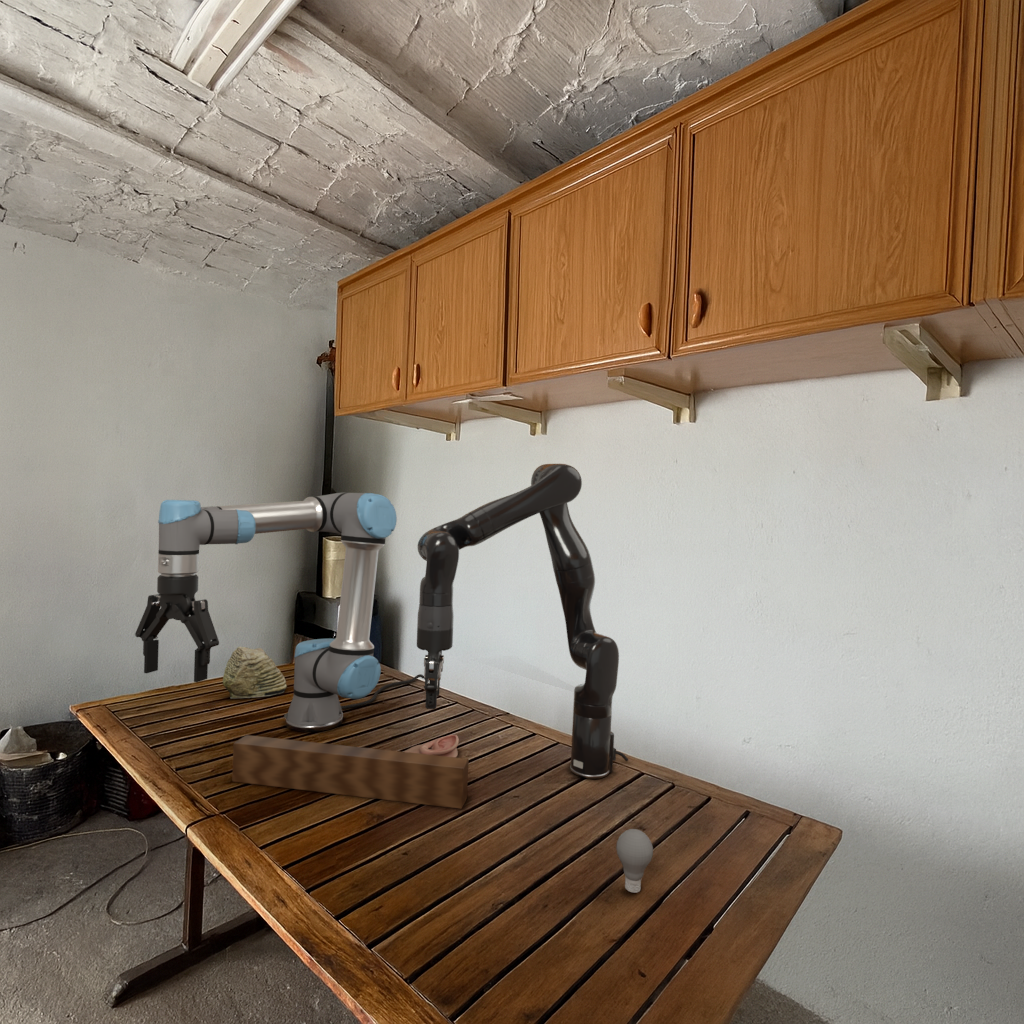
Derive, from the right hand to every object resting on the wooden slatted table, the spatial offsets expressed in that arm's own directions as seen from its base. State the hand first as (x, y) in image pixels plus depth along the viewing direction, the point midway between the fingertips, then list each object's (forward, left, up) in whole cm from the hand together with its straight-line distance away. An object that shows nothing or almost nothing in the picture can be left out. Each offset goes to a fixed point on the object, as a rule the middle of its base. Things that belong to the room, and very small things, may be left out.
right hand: (432, 701), depth 134 cm
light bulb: (-21, +43, -21) cm, 52 cm away
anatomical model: (-8, -22, -21) cm, 32 cm away
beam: (+14, -11, -21) cm, 28 cm away
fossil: (+27, -86, -21) cm, 92 cm away
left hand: (+48, -23, +4) cm, 54 cm away
